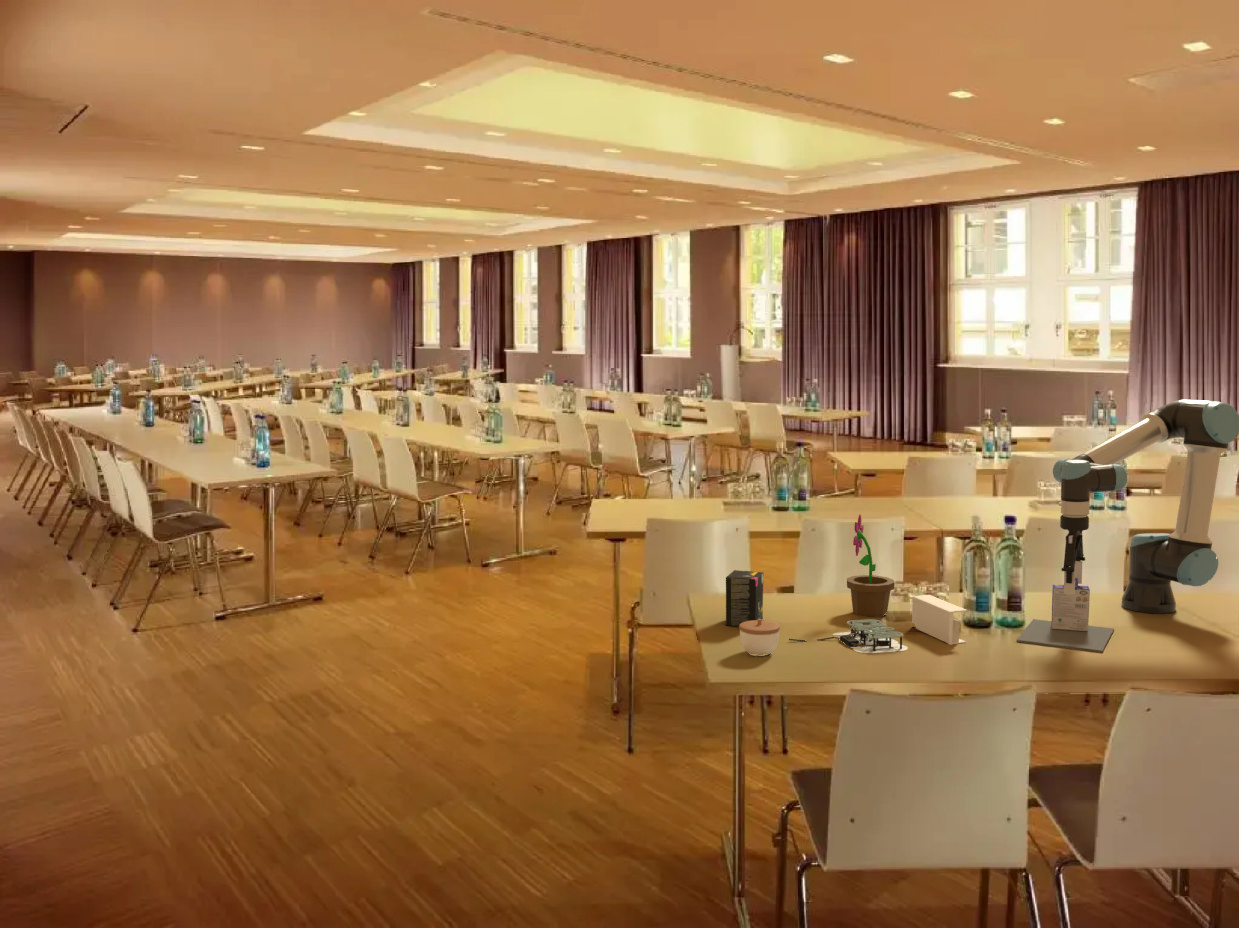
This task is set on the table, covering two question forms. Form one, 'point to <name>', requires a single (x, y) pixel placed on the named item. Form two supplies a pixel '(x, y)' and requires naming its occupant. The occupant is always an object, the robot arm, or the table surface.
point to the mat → (1066, 636)
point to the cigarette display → (936, 618)
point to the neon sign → (870, 637)
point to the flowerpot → (868, 584)
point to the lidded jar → (759, 636)
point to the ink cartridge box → (1070, 608)
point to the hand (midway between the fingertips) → (1073, 588)
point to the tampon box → (744, 597)
